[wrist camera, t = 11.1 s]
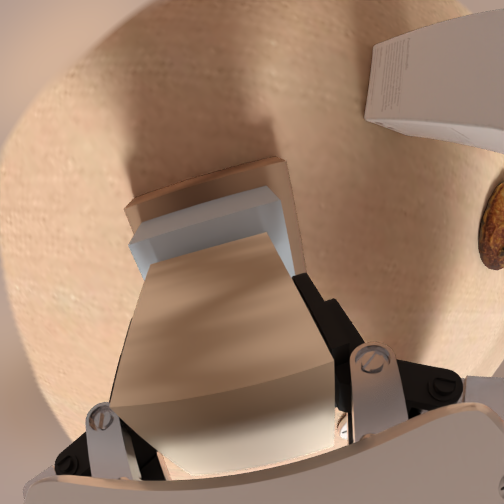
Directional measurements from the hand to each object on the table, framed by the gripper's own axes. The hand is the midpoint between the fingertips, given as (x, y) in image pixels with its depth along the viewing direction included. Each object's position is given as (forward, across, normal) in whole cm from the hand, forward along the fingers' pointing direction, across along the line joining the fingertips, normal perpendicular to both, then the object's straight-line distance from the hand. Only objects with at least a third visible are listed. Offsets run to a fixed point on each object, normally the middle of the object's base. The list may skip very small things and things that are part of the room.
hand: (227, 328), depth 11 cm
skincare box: (+9, -14, -8) cm, 18 cm away
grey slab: (+6, 0, 0) cm, 6 cm away
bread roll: (+9, -31, +6) cm, 33 cm away
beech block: (+2, 0, 0) cm, 2 cm away
